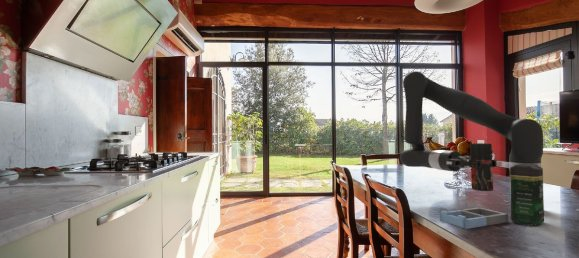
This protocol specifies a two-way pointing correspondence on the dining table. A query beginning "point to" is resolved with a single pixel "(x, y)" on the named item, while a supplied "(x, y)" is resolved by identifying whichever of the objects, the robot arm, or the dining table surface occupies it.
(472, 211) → the pale blue open frame
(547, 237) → the dining table surface
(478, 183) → the deodorant
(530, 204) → the coffee jar
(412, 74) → the robot arm
